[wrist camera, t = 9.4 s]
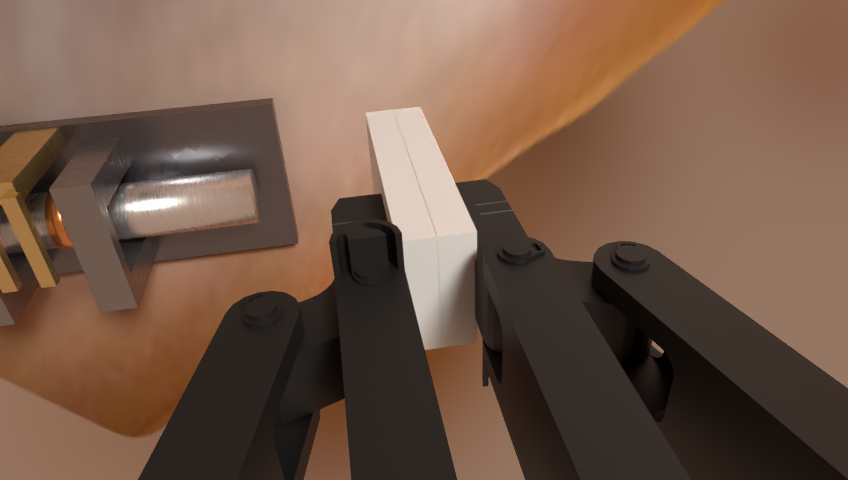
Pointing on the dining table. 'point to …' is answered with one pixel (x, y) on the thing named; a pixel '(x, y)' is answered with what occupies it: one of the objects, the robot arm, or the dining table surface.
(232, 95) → the dining table surface
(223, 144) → the grey mechanical fixture
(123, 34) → the dining table surface
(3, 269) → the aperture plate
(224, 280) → the dining table surface
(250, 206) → the air tube
